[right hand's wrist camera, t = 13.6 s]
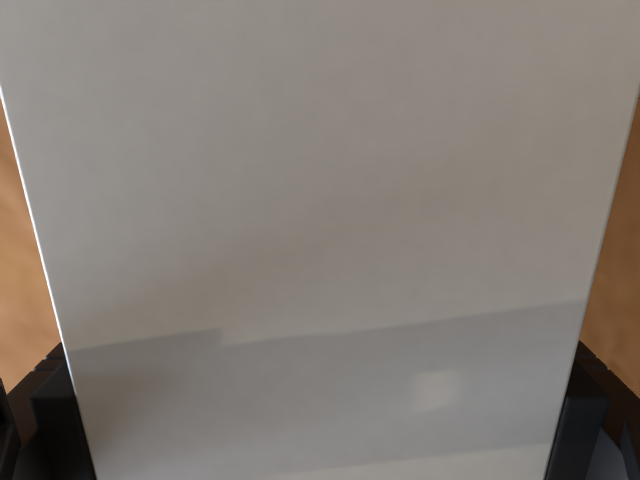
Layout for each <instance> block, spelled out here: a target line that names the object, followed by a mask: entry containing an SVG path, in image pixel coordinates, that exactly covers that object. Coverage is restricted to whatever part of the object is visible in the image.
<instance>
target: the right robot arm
mask: <svg viewBox="0 0 640 480" xmlns="http://www.w3.org/2000/svg"><path fill="white" fill-rule="evenodd" d="M0 480H96V476H95V472H94V468H93V464H92V460H91V456H90V452H89V448H88V444H87V440H86V436H85V432H84V428H83V424H82V420H81V416H80V412H79V408H78V404H77V400H76V396H75V392H74V388H73V384H72V380H71V376H70V372H69V368H68V364H67V360H66V356H65V352H64V348H63V344H62V342H61V343H59V344H58V345H57V346H56V347H55V348H54V349H53V350H52V351H51V352H50V353H49V354H48V355H47V356H46V357H45V360H42V361H41V362H40V363H39V364H38V365H37V366H36V367H35V368H34V370H33V371H31V372H30V373H29V374H28V375H27V376H26V377H25V378H23V379H22V380H21V381H20V382H19V383H18V384H17V385H16V386H15V387H14V388H13V389H12V390H11V391H10V392H9V393H8V394H7V395H6V392H5V389H4V386H3V382H2V379H1V378H0ZM544 480H640V399H639V398H638V397H637V396H636V395H635V394H634V393H633V392H632V391H631V390H630V389H629V388H628V387H627V386H626V385H625V384H624V383H623V382H622V381H621V380H620V379H619V378H618V377H617V376H616V375H615V374H614V373H613V372H612V371H611V370H608V369H607V366H606V365H605V364H604V363H603V362H602V361H601V360H600V359H599V358H596V355H594V354H593V353H592V352H591V351H590V350H589V349H588V348H587V347H586V346H585V345H584V344H583V343H582V342H581V341H578V345H577V349H576V353H575V357H574V361H573V365H572V369H571V373H570V377H569V381H568V385H567V389H566V393H565V397H564V402H563V406H562V410H561V414H560V418H559V422H558V426H557V430H556V434H555V438H554V442H553V446H552V450H551V454H550V458H549V462H548V466H547V470H546V474H545V479H544Z"/></svg>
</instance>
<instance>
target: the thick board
mask: <svg viewBox="0 0 640 480" xmlns="http://www.w3.org/2000/svg"><path fill="white" fill-rule="evenodd" d="M639 93H640V0H0V96H1V100H2V104H3V108H4V112H5V116H6V120H7V124H8V128H9V132H10V136H11V140H12V144H13V148H14V152H15V156H16V160H17V164H18V168H19V172H20V176H21V180H22V184H23V188H24V192H25V196H26V200H27V204H28V208H29V212H30V216H31V220H32V224H33V228H34V232H35V236H36V240H37V244H38V248H39V252H40V256H41V260H42V264H43V268H44V272H45V276H46V280H47V284H48V288H49V292H50V296H51V300H52V304H53V308H54V312H55V316H56V320H57V324H58V328H59V332H60V336H61V340H62V344H63V348H64V352H65V356H66V360H67V364H68V368H69V372H70V376H71V380H72V384H73V388H74V392H75V396H76V400H77V404H78V408H79V412H80V416H81V420H82V424H83V428H84V432H85V436H86V440H87V444H88V448H89V452H90V456H91V460H92V464H93V468H94V472H95V476H96V480H544V479H545V474H546V470H547V466H548V462H549V458H550V454H551V450H552V446H553V442H554V438H555V434H556V430H557V426H558V422H559V418H560V414H561V410H562V406H563V402H564V397H565V393H566V389H567V385H568V381H569V377H570V373H571V369H572V365H573V361H574V357H575V353H576V349H577V345H578V341H579V337H580V333H581V329H582V324H583V320H584V316H585V312H586V308H587V304H588V300H589V296H590V292H591V288H592V284H593V280H594V276H595V272H596V268H597V264H598V260H599V256H600V252H601V247H602V243H603V239H604V235H605V231H606V227H607V223H608V219H609V215H610V211H611V207H612V203H613V199H614V195H615V191H616V187H617V183H618V179H619V174H620V170H621V166H622V162H623V158H624V154H625V150H626V146H627V142H628V138H629V134H630V130H631V126H632V122H633V118H634V114H635V110H636V106H637V102H638V97H639Z"/></svg>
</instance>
